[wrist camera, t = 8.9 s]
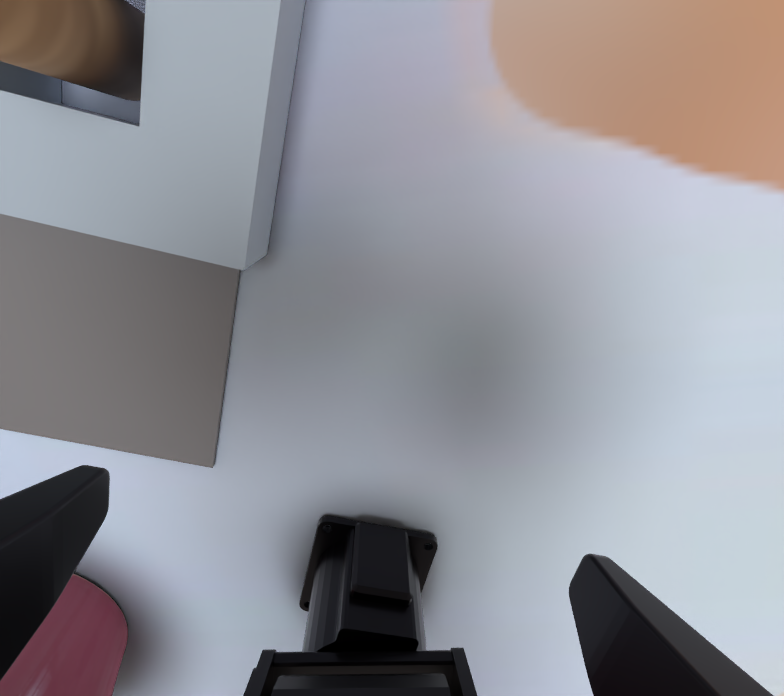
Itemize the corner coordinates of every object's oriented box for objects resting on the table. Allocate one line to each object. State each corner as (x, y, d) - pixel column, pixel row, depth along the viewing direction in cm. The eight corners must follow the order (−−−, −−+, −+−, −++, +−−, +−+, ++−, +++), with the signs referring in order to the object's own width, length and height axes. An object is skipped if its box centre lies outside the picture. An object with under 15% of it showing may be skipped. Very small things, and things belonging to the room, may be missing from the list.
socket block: (266, 254, 19) (243, 270, 16) (-39, 181, 18) (-132, 182, 15) (320, -98, 15) (304, -174, 12) (-70, -227, 14) (-210, -353, 10)
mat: (214, 464, 23) (212, 467, 22) (2, 424, 22) (-3, 428, 21) (253, 174, 18) (251, 174, 18) (-16, 105, 17) (-23, 103, 17)
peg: (166, 110, 17) (-38, 46, 9) (83, 87, 17) (-212, -1, 8) (172, 19, 16) (-51, -153, 8) (84, -7, 16) (-250, -217, 7)
